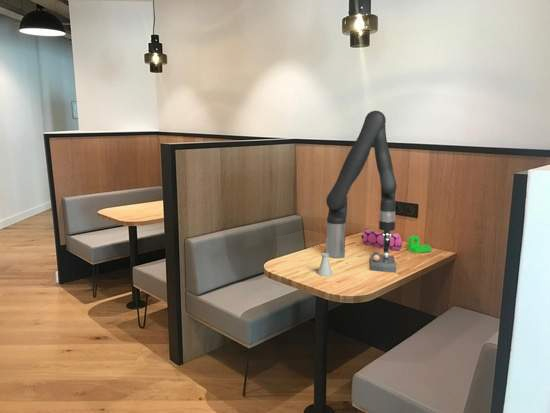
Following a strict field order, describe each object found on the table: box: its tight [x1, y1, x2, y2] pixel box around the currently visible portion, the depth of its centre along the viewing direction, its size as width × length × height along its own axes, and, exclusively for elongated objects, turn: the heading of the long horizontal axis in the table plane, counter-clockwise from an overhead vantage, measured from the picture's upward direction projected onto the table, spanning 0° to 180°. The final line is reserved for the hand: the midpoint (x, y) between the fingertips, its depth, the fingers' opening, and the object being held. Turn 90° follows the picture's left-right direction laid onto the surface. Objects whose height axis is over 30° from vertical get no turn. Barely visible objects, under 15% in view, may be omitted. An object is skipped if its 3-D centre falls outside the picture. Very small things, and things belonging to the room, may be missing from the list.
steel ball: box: [382, 251, 390, 258], centre depth 211 cm, size 3×3×3 cm
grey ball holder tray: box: [370, 254, 398, 273], centre depth 208 cm, size 11×18×4 cm, turn 169°
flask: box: [316, 252, 333, 277], centre depth 193 cm, size 7×7×10 cm
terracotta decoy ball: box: [373, 254, 380, 261], centre depth 206 cm, size 3×3×3 cm
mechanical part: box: [407, 234, 432, 254], centre depth 234 cm, size 12×6×8 cm, turn 112°
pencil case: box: [360, 227, 403, 251], centre depth 240 cm, size 21×10×10 cm, turn 53°
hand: (385, 254), depth 214 cm, fingers closed
